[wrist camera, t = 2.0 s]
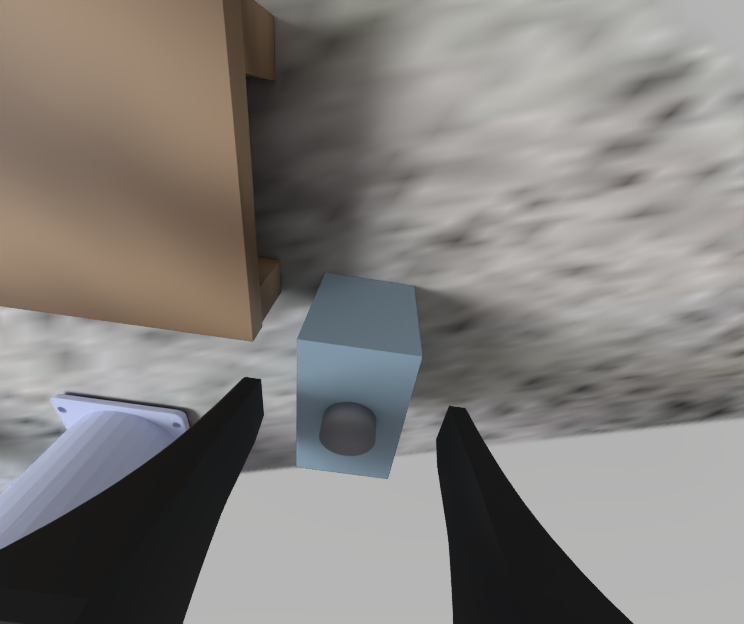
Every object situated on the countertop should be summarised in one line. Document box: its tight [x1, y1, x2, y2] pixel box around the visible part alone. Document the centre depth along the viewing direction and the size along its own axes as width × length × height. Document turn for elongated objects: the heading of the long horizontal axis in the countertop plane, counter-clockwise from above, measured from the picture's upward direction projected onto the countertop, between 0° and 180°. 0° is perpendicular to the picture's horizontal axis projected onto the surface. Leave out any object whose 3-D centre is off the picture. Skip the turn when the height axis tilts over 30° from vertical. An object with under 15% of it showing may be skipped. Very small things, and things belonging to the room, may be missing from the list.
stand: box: [0, 0, 281, 342], centre depth 11 cm, size 10×10×4 cm
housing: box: [296, 273, 422, 479], centre depth 14 cm, size 7×4×6 cm, turn 173°
